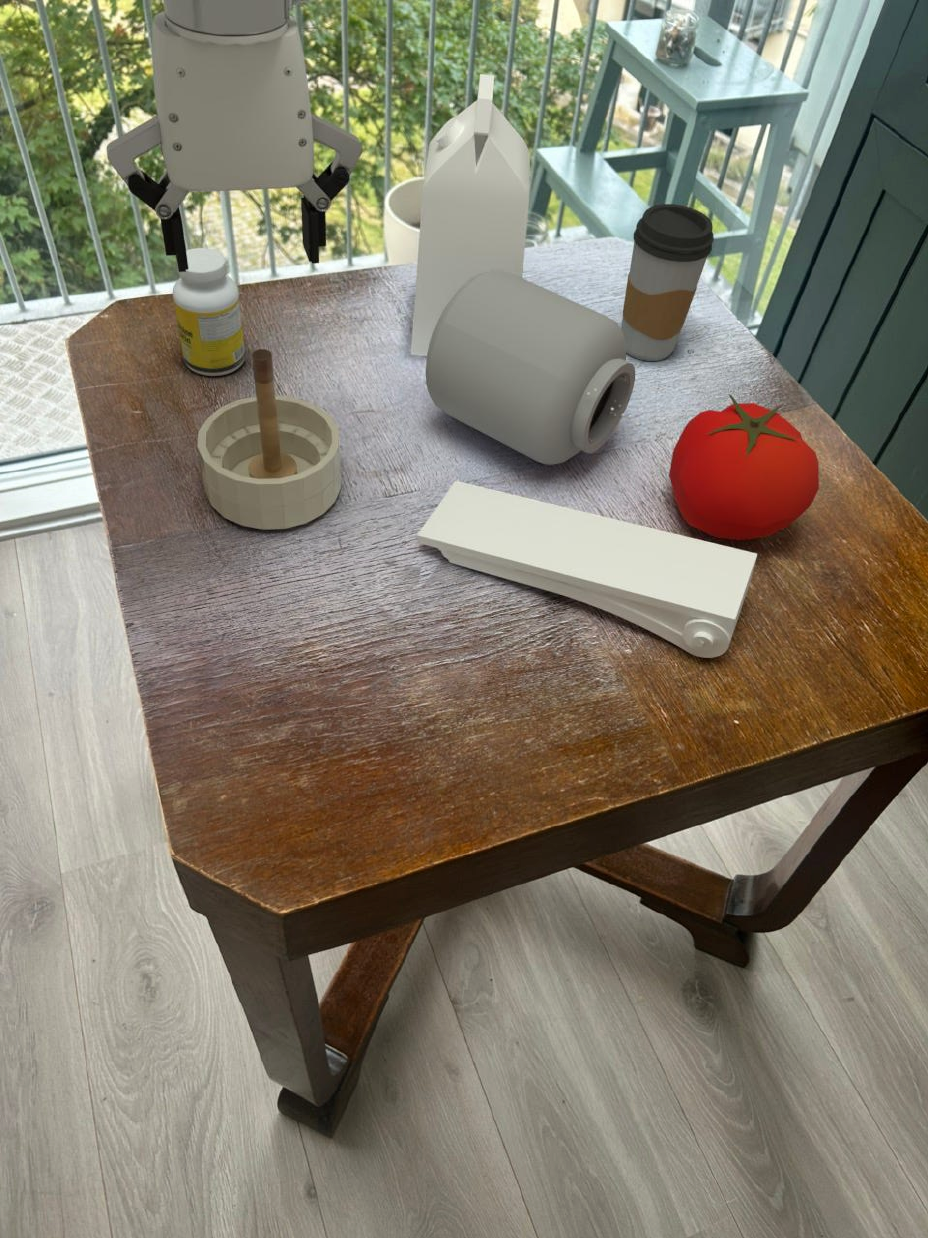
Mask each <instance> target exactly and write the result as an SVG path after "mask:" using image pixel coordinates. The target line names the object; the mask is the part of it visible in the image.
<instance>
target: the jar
mask: <svg viewBox="0 0 928 1238" xmlns="http://www.w3.org/2000/svg"><path fill="white" fill-rule="evenodd" d="M425 364H426V365H425V385H426V388H427V392H428V395H429V397H430V399H431V401H432V402H433V404H434V406H435V407H436V408H438V409H439V410H440V411H442V412H444V413H445V414H446V415H448V416H449V417H451V418H453V419H456V420H457V421H458V422H461V423H463V424H465V425H467V426H469V427H470V428H473V429H475V430H476V431H478V432H480V433H482V434H484V435H486V436H488V437H490V438H492V439H493V440H496V441H497V442H499V443H501V444H503V445H504V446H506V447H509V448H510V449H513V450H514V451H516V452H519V453H520V454H522V455H524V456H526V457H528V458H529V459H531V460H533V461H535V462H537V463H541V464H542V465H548V466H552V465H558V464H562V463H565V462H567V461H568V460H570V459H571V458H572V457H574V456H576V455H577V454H579V453H580V452H581V451H582V452H584V453H586V454H593V453H595V452H596V451H598V450H599V449H600V448H601V447H602V446H604V445H605V444H606V442H607V441H608V439H609V438H610V437H611V436H612V434H613V433H614V432H615V430H616V428H617V427H618V425H619V423H620V422H621V420H622V418H623V417H625V413H626V409H627V407H628V405H629V403H630V401H631V397H632V394H633V391H634V387H635V383H636V367H635V365H634V364H633V363H631V362H629V361H627V353H626V344H625V337H624V335H623V333H622V331H621V326H620V325H619V324H618V322H616V321H615V320H613V319H611V318H610V317H608V316H607V315H605V314H603V313H600V312H598V311H596V310H594V309H592V308H589V307H586V306H585V305H583V304H580V303H579V302H578V303H577V302H576V301H573V300H571V299H569V298H567V297H565V296H563V295H561V294H558V293H555V292H553V291H551V290H550V289H547V288H544V287H542V286H540V285H538V284H536V283H535V282H534V283H533V282H531V281H529V280H527V279H525V278H523V277H522V278H520V277H518V276H516V275H513V274H511V273H509V272H505V271H502V270H491V271H487V272H484V273H480V274H478V275H476V276H475V277H473V278H471V279H470V280H469V281H468V282H467V283H465V284H464V285H463V286H462V287H461V288H460V289H459V290H458V292H457V293H456V294H455V295H454V296H453V297H452V299H451V300H450V301H449V303H448V304H447V306H446V307H445V309H444V310H443V312H442V314H441V316H440V318H439V319H438V322H437V324H436V326H435V329H434V331H433V334H432V337H431V340H430V343H429V348H428V353H427V356H426V363H425ZM627 419H629V420H630V419H633V415H632V414H628V416H627ZM654 421H655V423H657V422H659V419H658V418H655V420H654ZM634 425H635V426H636V427H640V426H641V423H640V421H636V422H635V423H634ZM666 435H667V431H666V430H665V429H661V431H660V432H659V433H657V434H656V435H655V437H656V439H660V437H661V436H662V437H663V436H666ZM646 436H647V437H650V436H651V433H649V432H647V433H646ZM668 439H669V440H673V439H674V436H673V434H669V435H668Z"/></svg>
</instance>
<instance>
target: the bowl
mask: <svg viewBox="0 0 928 1238" xmlns="http://www.w3.org/2000/svg"><path fill="white" fill-rule="evenodd" d="M275 397H276V409H277V420H278V431H279V443H280V452H282V453H285V454H287V455H289V456H291V457H292V458H293V459H294V460H295V462H296V464H297V473H298V474H295V475H291V476H287V477H283V478H270V479H257V478H252V477H249V469H248V467H249V464H250V462H251V460H252V459H253V458H254V457H256V456H257V455H259V454H262V445H261V435H260V426H259V416H258V407H257V397H256V395H255V396H251V397H245V398H240V399H237V400H235V401H232V402H230V403H227V404H226V405H223V406H221V407H219V408H218V409H217V410H215V411H214V412H213V413H211V415H209V416H208V417H207V418H206V419H205V420H204V422H203V424H202V425H201V427H200V429H199V431H198V433H197V445H196V448H197V451H198V457H199V464H200V470H201V475H202V481H203V487H204V492H205V496H206V497H207V499H208V502H209V504H210V506H211V507H212V508H213V509H214V510H216V512H218V513H219V514H220V515H221V516H222V517H223V518H224V519H226V520H229V521H230V522H232V523H235V524H237V525H239V526H241V527H245V528H246V527H247V528H252V529H258V530H262V531H263V530H286V529H291V528H295V527H297V526H302V525H306V524H308V523H310V522H312V521H313V520H315V519H317V518H319V517H321V516H322V515H324V514H325V513H326V512H327V511H328V510H329V509H330V508H331V507H332V506H333V505H334V504H335V503H336V501H337V498H338V497H339V494H340V493H341V489H342V474H341V473H342V471H341V470H342V469H341V442H340V441H341V440H340V430H339V427H338V426H337V423H336V422H335V420H334V418H333V417H332V416H331V415H330V414H329V413H327V412H326V411H324V409H322V408H321V407H319V406H318V405H316V404H313V403H311V402H309V401H306V400H304V399H302V398H297V397H293V396H286V395H281V394H280V395H279V394H275Z"/></svg>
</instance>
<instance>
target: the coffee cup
mask: <svg viewBox="0 0 928 1238" xmlns="http://www.w3.org/2000/svg"><path fill="white" fill-rule="evenodd" d="M713 226H714V225H713V222H712V220H711V218H709V217H708V216H707V215H706V214H704V213H703V212H701V211H700V210H697V209H695V208H692V207H690V206H685V205H682V204H675V203H662V204H655V205H653V206H650V207H648V208H646V210H644V213H643V214H642V217H641V218H639V220H638V221H637V223H636V227H635V230H634V233H633V241H634V242H633V248H632V254H631V261H630V267H629V272H628V274H627V281H626V287H625V295H624V301H623V307H622V320H621V326H620V329H621V331H622V333H623V335H624V337H625V344H626V354H628V355H629V356H631V357H633V358H635V359H637V360H640V361H646V362H657V361H662V360H665V359H667V358H668V357H669V356H670V355H671V354H672V353H673V352H674V350H675V348H676V345H677V342H678V340H679V338H680V335H681V331H682V329H683V327H684V325H685V322H686V319H687V316H688V314H689V311H690V308H691V305H692V303H693V301H694V297H695V295H696V293H697V292H696V291H697V289H698V288H697V287H698V284H699V281H700V279H701V276H702V274H703V273H702V272H703V270H704V267H705V264H706V263H707V262H706V261H707V259H708V256H709V255H711V252H712V251H713V242H714V233H713V228H714V227H713Z"/></svg>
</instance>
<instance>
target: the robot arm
mask: <svg viewBox="0 0 928 1238" xmlns="http://www.w3.org/2000/svg"><path fill="white" fill-rule="evenodd" d="M310 1H311V0H162V3H163V10H164V11H161V12H159V13H157V14H155V15H154V16H153V20H152V36H151V37H152V38H151V45H152V46H151V59H152V60H151V61H152V74H153V75H152V78H153V90H154V101H155V112H156V115H155V116H153V117H151V118H150V119H149V118H148V120H146V121H145V122H142V123H141V124H139V125H137V126H136V127H134V128H132V129H131V130H129V131H127V132H125V133H124V134H122V135H120V136H119V137H117V138H115V139H114V140H112V141H110V142H109V143H108V144H107V146H106V157H107V160H108V162H109V163H110V165H111V166H112V167H113V169H114V170H115V172H116V173H117V174H118V176H119V177H120V178H121V180H122V181H123V182H124V183H125V185H126V186H127V187H128V190H129V192H130V193H131V194H132V195H134V196H135V197H136V198H137V199H139V200H140V201H141V202H142V203H144V204H145V205H146V206H148V207H149V208H150V209H151V210H153V211H154V212H155V214H156V216H157V217H158V218H159V219H160V226H161V232H162V239H163V245H164V250H165V256H166V257H169V256H175V260H176V266H177V265H178V268H177V271H178V270H179V272H186V270H188V261H187V254H186V251H187V248H186V240H185V233H184V225H183V219H182V214H181V211H180V210H181V209H180V206H181V204H182V203H183V202H184V200H185V199H186V197H187V196H188V194H189V193H190V192H197V193H200V192H203V193H205V192H209V193H210V192H233V191H235V192H236V191H255V190H258V191H259V190H278V189H279V190H280V189H291V188H296V189H297V190H298V191H299V192H300V193H301V194H302V197H300V206H301V208H300V209H301V235H302V246H303V249H304V252H305V254H306V257H307V259H308V262H309V263H311V264H320V247H321V248H322V247H326V246H327V220H326V219H327V218H326V215H327V214H326V212H327V211H328V210H329V209H331V205H332V201H333V200H334V199H335V198H336V197H337V196H338V195H339V194H340V192H342V190H343V189H344V188H345V187H346V186H347V185H348V184H349V182H350V179H351V178H350V176H351V174H352V172H353V171H354V170H355V168H356V165H358V164H357V163H358V162H359V160H360V158H361V156H362V154H363V151H364V147H363V145H362V143H361V141H360V139H359V137H358V136H357V135H355V134H354V133H351V132H349V131H347V130H345V129H343V128H341V127H339V126H338V125H335V124H334V123H332V122H330V121H328V120H326V119H325V118H322V117H321V116H318V115H316V114H314V113H312V109H311V101H310V91H309V82H308V76H307V69H306V62H305V54H304V51H303V46H302V45H303V44H302V40H301V36H300V30H299V26H298V23H297V20H296V18H295V17H293V15H290V11H293V6H298V5H299V4H309V3H310ZM314 141H316V142H317V143H320V144H322V145H324V146H325V147H328V148H330V149H331V150H333V151H335V152H336V153H335V155H334V159H333V160H332V162H331V163H330V164H328V165H327V167H326V168H325V169H324V170H323V171H322V172H321V173H320V174H319V175H317V173H315V143H314ZM158 146H160V151H161V154H162V155H161V156H162V157H163V160H164V164H165V168H166V169H165V171H164V172H163V174H162V175H161V176H160V177H159V178H158V180H157V181H155V179H153V178H152V177H150V175H148V174H147V173H146V172H144V170H142V169H141V168H140V167H139V165H138V164H137V162H136V160H137V159H138V158H139V157H141V156H143V155H145V154H146V153H148V152H150V151H152V150H153V149H155V148H157V147H158Z"/></svg>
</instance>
